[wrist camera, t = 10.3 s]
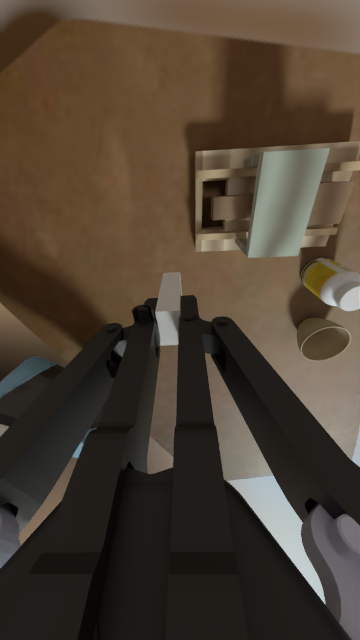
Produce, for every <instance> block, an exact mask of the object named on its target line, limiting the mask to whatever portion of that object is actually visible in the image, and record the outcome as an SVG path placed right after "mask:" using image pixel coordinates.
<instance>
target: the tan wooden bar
mask: <svg viewBox="0 0 360 640" xmlns="http://www.w3.org/2000/svg"><path fill="white" fill-rule="evenodd" d="M355 182H356V181H335V182H320V184H319V187H318V191H317V194H316V197H315V201H314V204H313V208H312V211H311V214H310V218H309V221H308V224H307V225H322V224H340V222H341V219H342V216H343V214H344V211H345V208H346V206H347V203H348V200H349V198H350V195H351V192H352V190H353V187H354V184H355ZM253 196H254V194H243V195H225V196H212V199H211V218H212V220H229V219H248V218H250V217H251V210H252V203H253Z"/></svg>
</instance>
